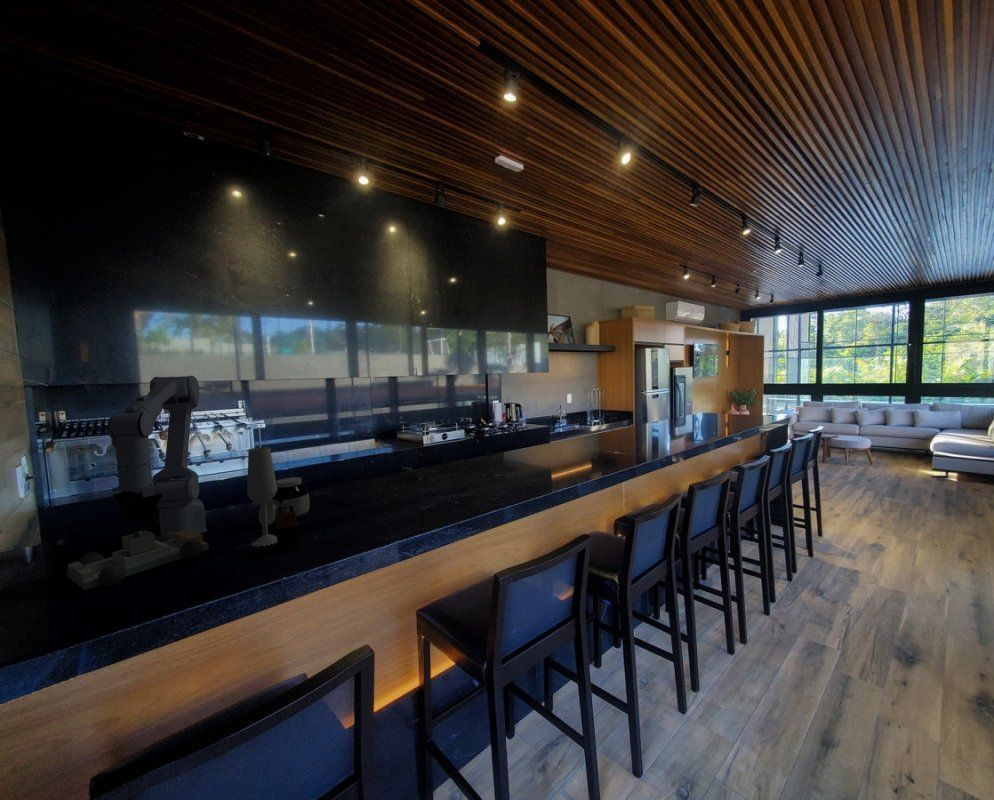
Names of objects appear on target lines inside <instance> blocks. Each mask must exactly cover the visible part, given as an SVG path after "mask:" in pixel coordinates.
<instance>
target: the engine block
mask: <svg viewBox="0 0 994 800" xmlns="http://www.w3.org/2000/svg"><path fill="white" fill-rule="evenodd" d="M155 540H156V538H155V533H154V532H152V531H149V530H137V531H134V532H132V533H131V534H127V535H123V536H121V544H122V545H121V546H122V550H123V555H124V556H126V557H128V558H129V557H133V556H136V555H139V554H143V553H146V552H149V551H153V550H156V549H155Z"/></svg>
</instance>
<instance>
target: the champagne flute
mask: <svg viewBox="0 0 994 800" xmlns="http://www.w3.org/2000/svg"><path fill="white" fill-rule="evenodd" d="M247 451H248V454H247V455H248V456H247V457H248V458H247V481H246V482H247V483H246V485H247V486H246V495H247V497H248V498H249V499H250V500H251V501H252V502H254V503H255V504H257V505H260V508H261V516H262V524H261V527H262V529H261V530H262V535H260V537H258V538H257V539H255V540H254V541H252V542H251V544H252V546H251V547H253V546H257V547H256V548H260V547H259V546H264V547H267V546H266V545H268V546H271V544H272V545H274V543H275V544H277V543H276V542H277V535H273V534H270V533H269V528H268V526H269V525H267V512H266V504H267V503H268V502H269V501H270V500H271V499H272V498H273V497H274V496H275V494H276V492H277V484H276V481H277V480H276V474H275V473H276V472H275V468H274V462H273V457H272V452H271V447H270V446H263V447H262V446H261V447H260V446H259V447H255V448H254V447H253V448H250V449H248V450H247Z"/></svg>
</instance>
